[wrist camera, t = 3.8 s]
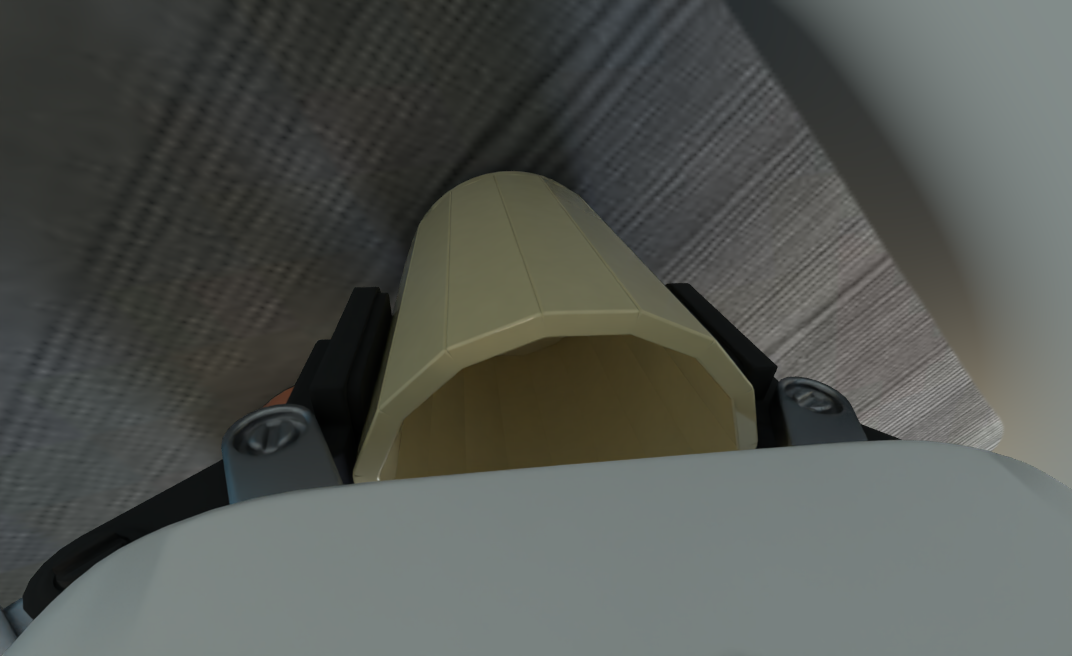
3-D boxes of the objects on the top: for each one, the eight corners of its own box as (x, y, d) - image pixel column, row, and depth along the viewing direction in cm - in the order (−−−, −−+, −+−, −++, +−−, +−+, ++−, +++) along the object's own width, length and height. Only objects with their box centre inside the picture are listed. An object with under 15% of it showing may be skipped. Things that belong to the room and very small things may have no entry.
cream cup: (398, 166, 13) (316, 317, 5) (620, 173, 14) (819, 305, 6) (416, 358, 16) (383, 618, 9) (593, 351, 17) (701, 575, 10)
